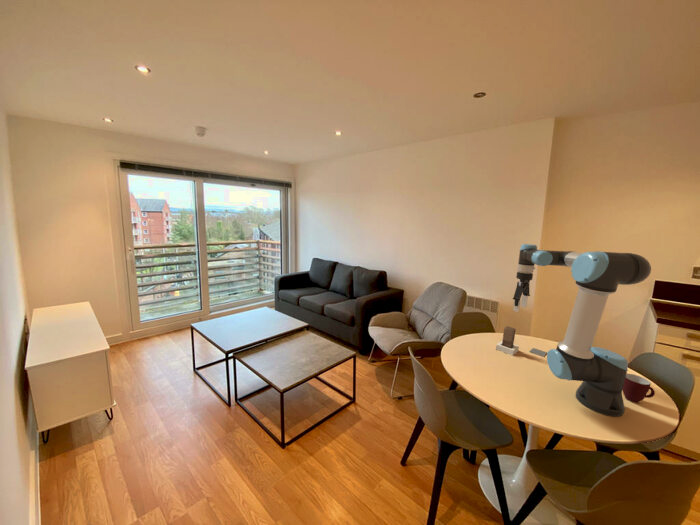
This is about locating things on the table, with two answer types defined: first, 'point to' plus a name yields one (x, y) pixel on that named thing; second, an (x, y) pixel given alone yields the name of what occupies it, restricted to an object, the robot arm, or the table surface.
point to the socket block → (506, 349)
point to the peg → (508, 337)
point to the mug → (636, 388)
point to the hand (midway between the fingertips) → (519, 309)
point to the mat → (538, 352)
